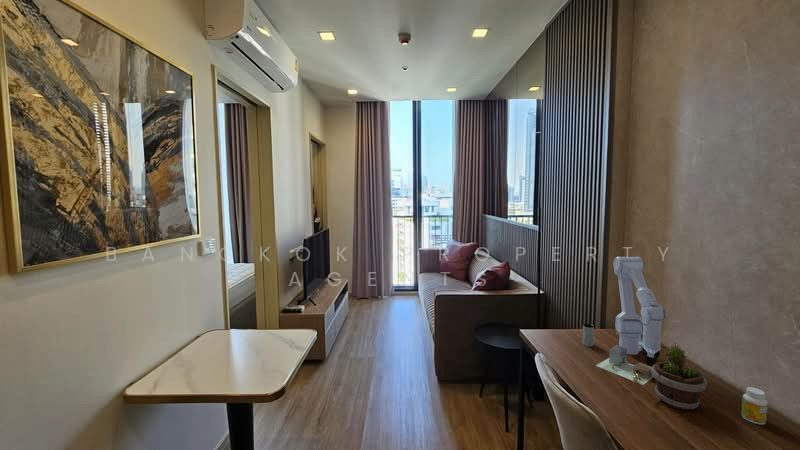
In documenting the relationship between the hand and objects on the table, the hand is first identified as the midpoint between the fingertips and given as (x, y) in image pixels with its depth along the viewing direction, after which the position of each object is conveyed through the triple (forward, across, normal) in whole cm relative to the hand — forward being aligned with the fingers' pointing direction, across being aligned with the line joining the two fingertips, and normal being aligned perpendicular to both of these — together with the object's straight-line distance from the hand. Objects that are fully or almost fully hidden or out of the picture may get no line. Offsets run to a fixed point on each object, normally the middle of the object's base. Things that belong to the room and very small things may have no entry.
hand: (650, 367), depth 133 cm
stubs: (+1, +11, -4) cm, 12 cm away
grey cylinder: (+2, -11, -24) cm, 26 cm away
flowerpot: (+2, +18, +8) cm, 20 cm away
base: (+2, +6, -8) cm, 10 cm away
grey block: (+1, +1, -11) cm, 11 cm away
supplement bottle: (+2, +15, +27) cm, 31 cm away
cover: (+1, +6, -2) cm, 6 cm away
